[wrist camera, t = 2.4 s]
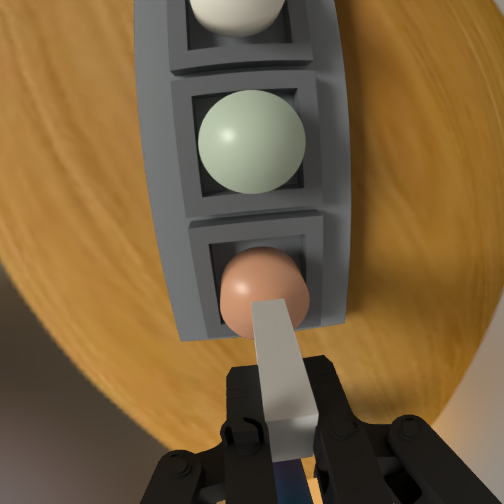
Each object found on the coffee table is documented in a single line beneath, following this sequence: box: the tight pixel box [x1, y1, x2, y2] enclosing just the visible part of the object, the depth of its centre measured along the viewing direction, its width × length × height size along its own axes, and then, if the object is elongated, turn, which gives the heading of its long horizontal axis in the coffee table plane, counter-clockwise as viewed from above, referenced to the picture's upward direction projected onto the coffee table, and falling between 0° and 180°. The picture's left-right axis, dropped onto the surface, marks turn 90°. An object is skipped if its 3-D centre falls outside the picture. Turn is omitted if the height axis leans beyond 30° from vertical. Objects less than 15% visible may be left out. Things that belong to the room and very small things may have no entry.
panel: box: [134, 0, 351, 341], centre depth 16 cm, size 26×12×4 cm, turn 5°
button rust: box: [220, 246, 310, 340], centre depth 16 cm, size 5×5×2 cm
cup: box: [272, 458, 314, 504], centre depth 19 cm, size 7×7×15 cm
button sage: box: [198, 90, 306, 194], centre depth 13 cm, size 5×5×2 cm
